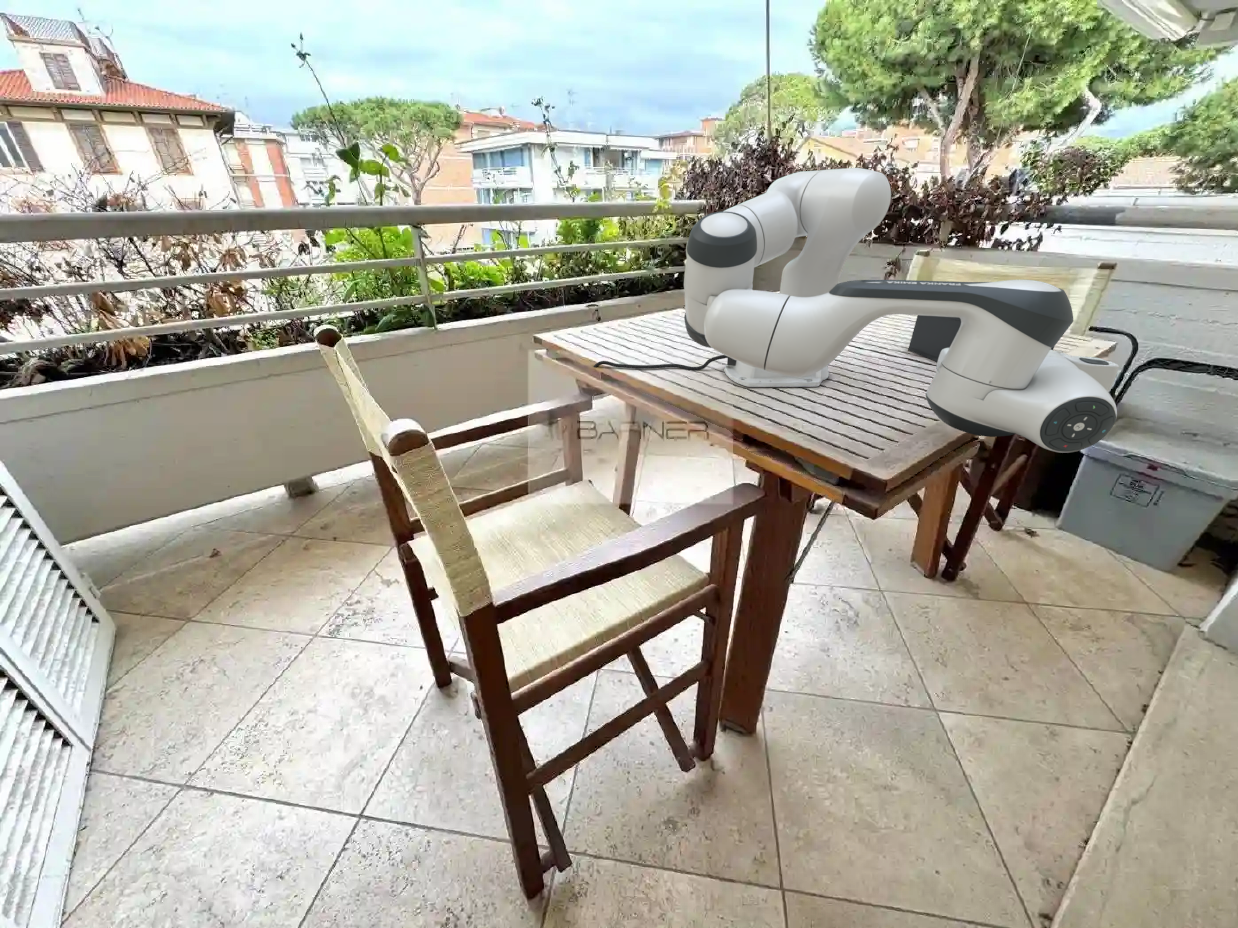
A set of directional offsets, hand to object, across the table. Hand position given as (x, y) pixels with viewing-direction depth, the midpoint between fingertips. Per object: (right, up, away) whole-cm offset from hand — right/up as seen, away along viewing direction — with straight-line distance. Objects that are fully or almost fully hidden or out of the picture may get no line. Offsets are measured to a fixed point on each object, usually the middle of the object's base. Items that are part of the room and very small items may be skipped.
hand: (1003, 354), depth 78 cm
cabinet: (+18, +8, +38) cm, 42 cm away
